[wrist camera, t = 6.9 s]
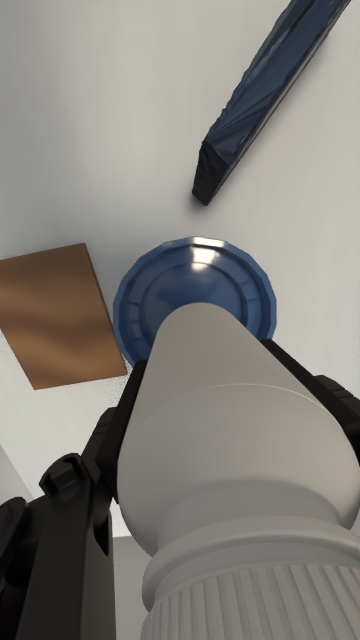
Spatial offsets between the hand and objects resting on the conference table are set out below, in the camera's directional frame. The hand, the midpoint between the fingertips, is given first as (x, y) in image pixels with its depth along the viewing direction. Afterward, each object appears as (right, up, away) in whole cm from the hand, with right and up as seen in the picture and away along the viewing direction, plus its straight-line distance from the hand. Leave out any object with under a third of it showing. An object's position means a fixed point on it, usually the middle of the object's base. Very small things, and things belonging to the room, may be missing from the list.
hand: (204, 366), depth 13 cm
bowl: (0, +4, +13) cm, 14 cm away
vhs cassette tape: (+6, +25, +6) cm, 26 cm away
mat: (-20, +3, +13) cm, 24 cm away
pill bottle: (0, +1, +4) cm, 4 cm away
